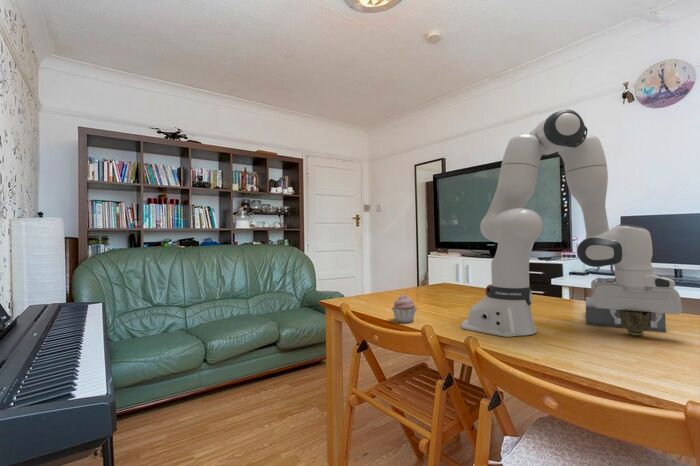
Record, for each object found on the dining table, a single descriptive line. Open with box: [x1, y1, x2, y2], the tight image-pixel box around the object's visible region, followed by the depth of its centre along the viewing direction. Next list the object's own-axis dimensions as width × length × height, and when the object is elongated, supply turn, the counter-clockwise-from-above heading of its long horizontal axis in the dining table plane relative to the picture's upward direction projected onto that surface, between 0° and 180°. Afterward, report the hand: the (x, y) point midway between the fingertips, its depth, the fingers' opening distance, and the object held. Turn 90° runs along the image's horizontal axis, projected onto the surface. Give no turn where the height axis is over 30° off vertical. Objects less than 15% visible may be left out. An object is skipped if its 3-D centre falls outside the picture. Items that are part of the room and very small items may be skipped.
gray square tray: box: [585, 296, 667, 333], centre depth 119 cm, size 20×20×6 cm
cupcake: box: [391, 293, 418, 324], centre depth 127 cm, size 9×9×10 cm
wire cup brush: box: [620, 310, 652, 338], centre depth 102 cm, size 8×7×8 cm
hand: (635, 325), depth 102 cm, fingers closed on wire cup brush, 7 cm apart
